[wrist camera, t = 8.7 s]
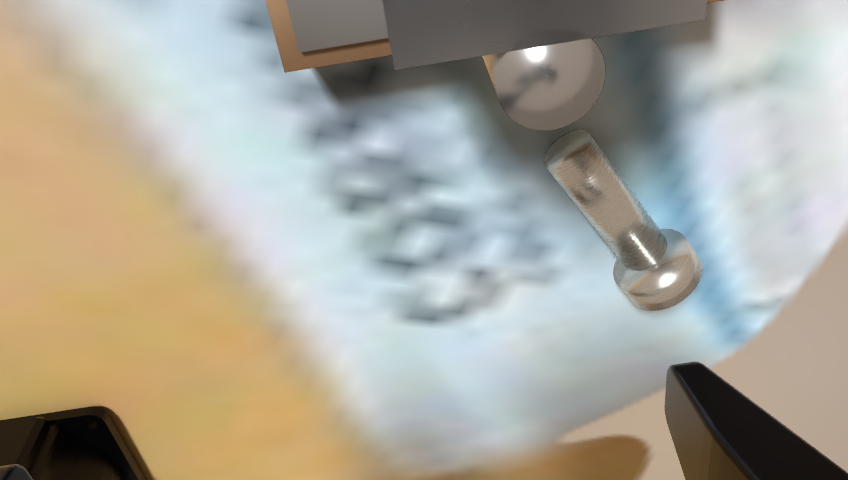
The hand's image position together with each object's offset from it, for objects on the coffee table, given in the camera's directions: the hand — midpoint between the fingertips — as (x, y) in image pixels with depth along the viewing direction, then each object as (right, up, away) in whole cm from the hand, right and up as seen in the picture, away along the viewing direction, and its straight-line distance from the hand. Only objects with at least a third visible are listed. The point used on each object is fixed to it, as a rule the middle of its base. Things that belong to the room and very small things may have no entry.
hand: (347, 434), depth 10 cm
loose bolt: (+7, +4, +13) cm, 16 cm away
